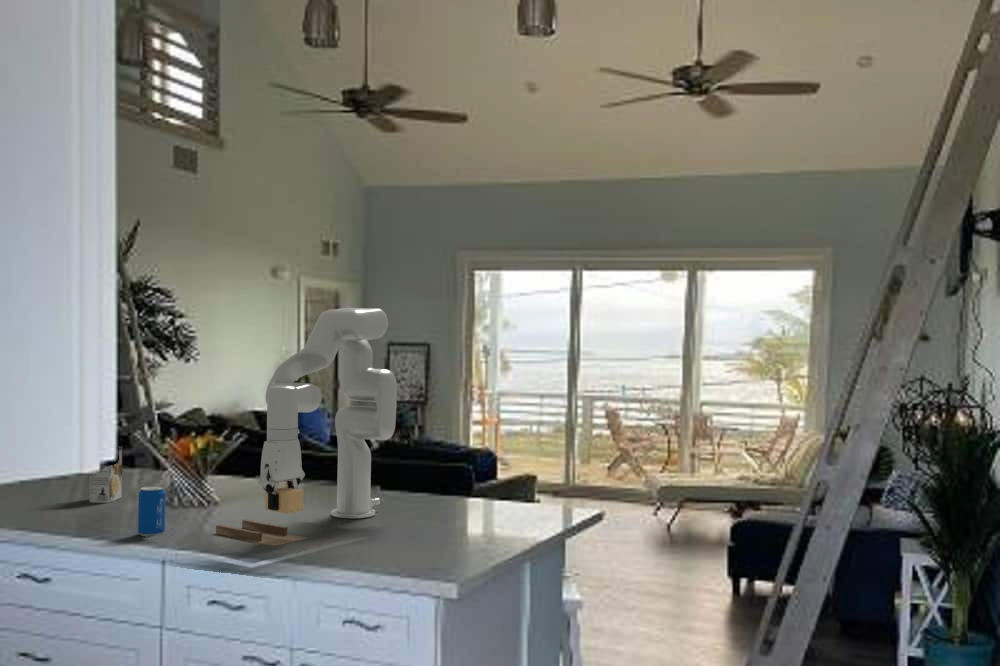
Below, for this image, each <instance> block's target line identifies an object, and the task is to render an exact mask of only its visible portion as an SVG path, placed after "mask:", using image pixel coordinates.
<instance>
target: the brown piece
mask: <svg viewBox="0 0 1000 666" xmlns="http://www.w3.org/2000/svg"><path fill="white" fill-rule="evenodd" d="M216 535H222V536H227V537H229V538H230V539H237V540H242V541H246V542H250V543H256V544H262V545H265V546H272V547H276V546H280V545H284V544H289V543H293V542H298V541H301V540H302V541H303V540H306V539H308V537H306V536H300V535H294V534H289V533H288V526H284V525H278V524H272V523H267V522H261V521H257V520H256V521H255V520H250V519H242V523H241V527H240V528H239V527H233V526H229V525H224V524H223V525H222V524H217V525H215V533H214V536H216Z"/></svg>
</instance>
